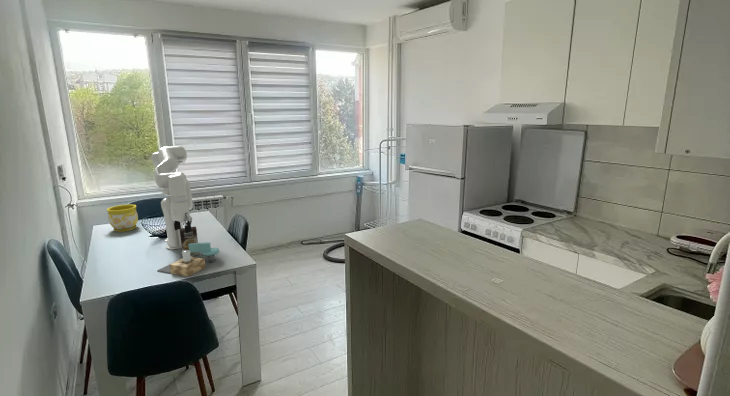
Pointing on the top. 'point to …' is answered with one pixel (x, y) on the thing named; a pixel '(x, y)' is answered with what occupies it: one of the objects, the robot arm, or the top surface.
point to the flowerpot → (123, 217)
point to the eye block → (187, 266)
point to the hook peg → (186, 256)
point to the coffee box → (188, 239)
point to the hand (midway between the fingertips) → (183, 230)
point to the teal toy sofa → (204, 250)
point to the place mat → (165, 269)
